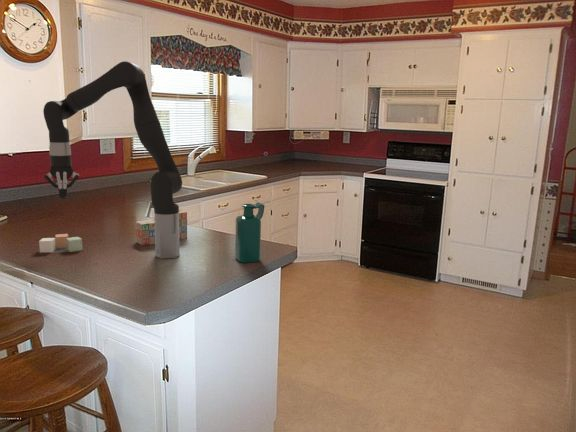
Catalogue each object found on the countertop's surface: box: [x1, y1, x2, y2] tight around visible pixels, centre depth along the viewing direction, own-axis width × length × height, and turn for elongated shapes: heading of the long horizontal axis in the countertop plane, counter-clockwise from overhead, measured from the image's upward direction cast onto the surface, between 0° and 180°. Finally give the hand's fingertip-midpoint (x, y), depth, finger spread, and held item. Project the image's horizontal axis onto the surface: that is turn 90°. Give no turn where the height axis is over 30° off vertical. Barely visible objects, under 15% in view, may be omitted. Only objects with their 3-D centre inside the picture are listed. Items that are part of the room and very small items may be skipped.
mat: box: [38, 243, 84, 254], centre depth 187 cm, size 11×15×1 cm
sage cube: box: [66, 236, 83, 253], centre depth 186 cm, size 4×4×4 cm
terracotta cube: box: [54, 233, 70, 248], centre depth 190 cm, size 4×4×4 cm
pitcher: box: [234, 202, 265, 264], centre depth 182 cm, size 10×8×22 cm
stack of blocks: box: [135, 209, 188, 246], centre depth 206 cm, size 21×6×12 cm, turn 132°
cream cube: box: [38, 237, 56, 252], centre depth 183 cm, size 4×4×4 cm
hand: (63, 198), depth 187 cm, fingers closed
